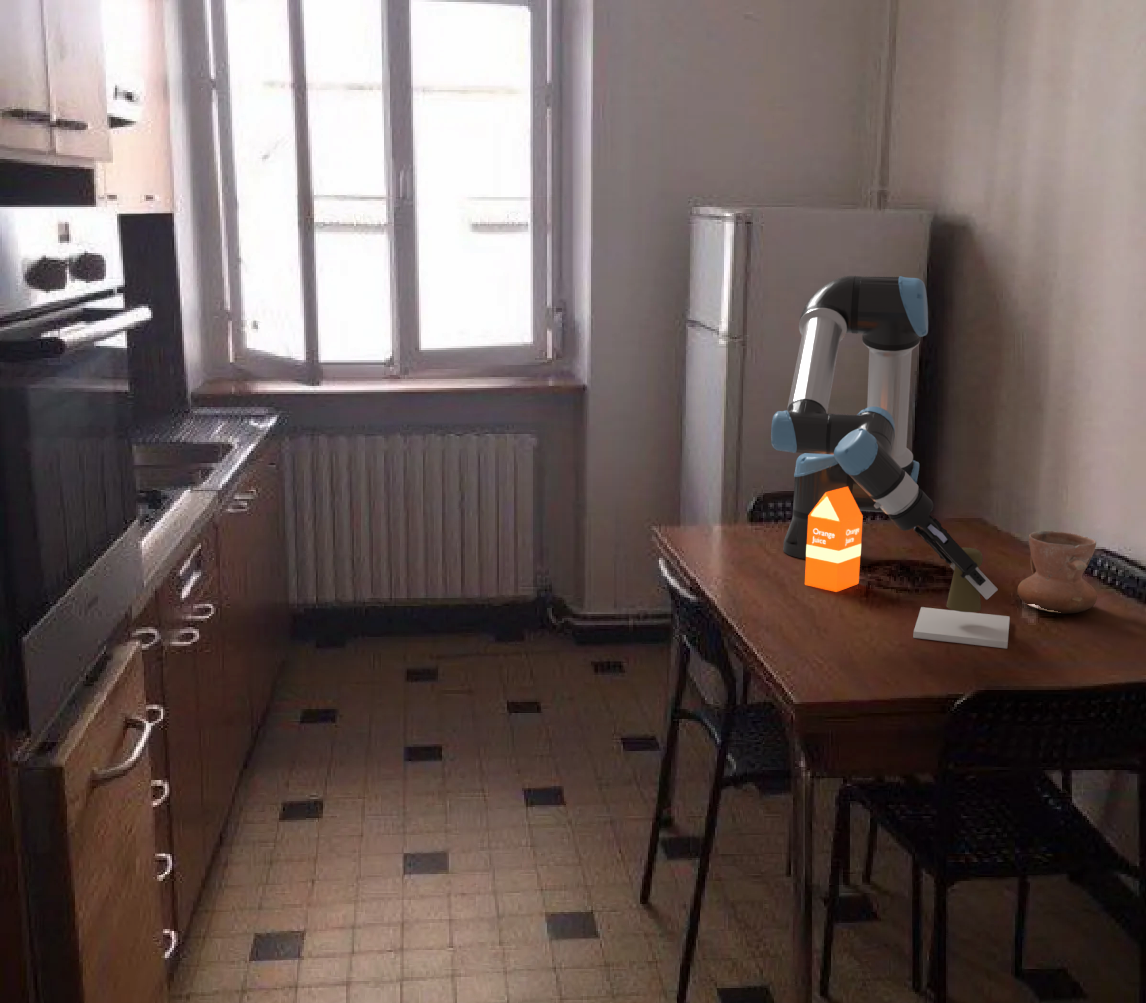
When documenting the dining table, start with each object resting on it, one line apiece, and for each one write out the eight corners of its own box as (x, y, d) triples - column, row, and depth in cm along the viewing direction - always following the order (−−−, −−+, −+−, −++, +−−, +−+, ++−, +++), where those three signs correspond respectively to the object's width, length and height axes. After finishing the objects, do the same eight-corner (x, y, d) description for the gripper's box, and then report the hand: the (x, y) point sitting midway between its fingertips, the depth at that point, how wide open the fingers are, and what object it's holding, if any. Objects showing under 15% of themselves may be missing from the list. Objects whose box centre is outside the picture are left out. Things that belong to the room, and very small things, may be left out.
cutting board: (913, 637, 225) (913, 631, 225) (920, 613, 240) (921, 607, 240) (1007, 648, 220) (1007, 642, 220) (1009, 622, 235) (1009, 616, 234)
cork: (983, 605, 230) (988, 547, 228) (978, 614, 225) (983, 554, 223) (949, 600, 233) (953, 543, 230) (943, 609, 227) (948, 550, 225)
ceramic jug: (1113, 620, 237) (1121, 547, 234) (1039, 621, 235) (1046, 547, 233) (1067, 595, 254) (1074, 526, 252) (998, 595, 253) (1004, 526, 250)
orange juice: (859, 583, 260) (865, 489, 256) (836, 592, 253) (842, 495, 249) (826, 576, 265) (831, 483, 261) (803, 584, 259) (808, 489, 254)
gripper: (871, 505, 233) (950, 590, 238) (905, 527, 215) (990, 618, 220) (901, 477, 232) (980, 562, 237) (937, 497, 214) (1022, 589, 219)
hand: (984, 589), depth 229 cm, fingers closed on cork, 5 cm apart
